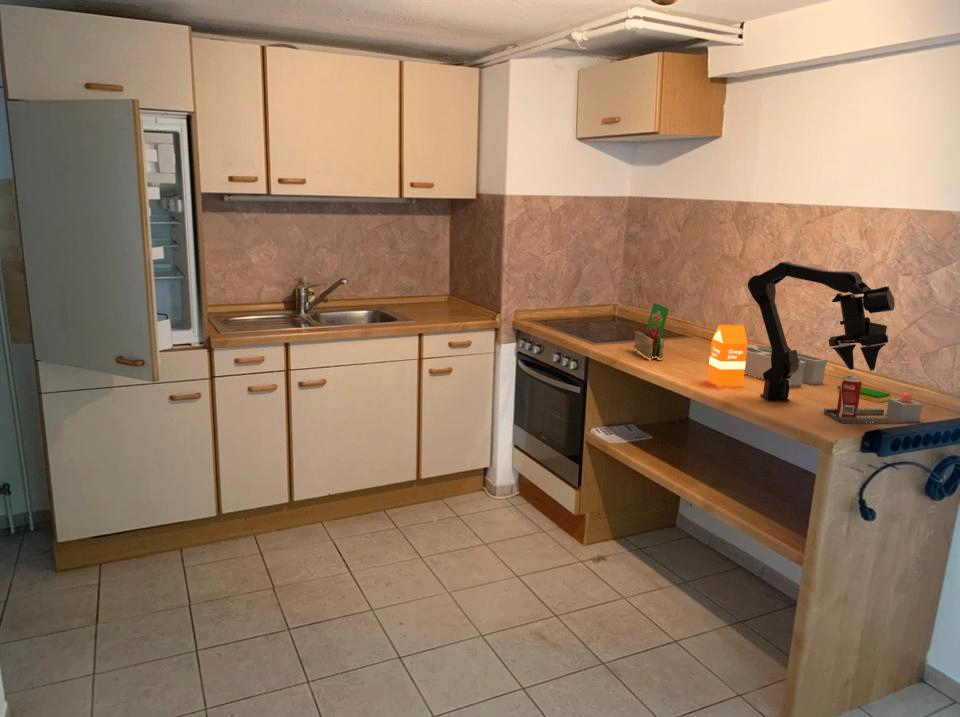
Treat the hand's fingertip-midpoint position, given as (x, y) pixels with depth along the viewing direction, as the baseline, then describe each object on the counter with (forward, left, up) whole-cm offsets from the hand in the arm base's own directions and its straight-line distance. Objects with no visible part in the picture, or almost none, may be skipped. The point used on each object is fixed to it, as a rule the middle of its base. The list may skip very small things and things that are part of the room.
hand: (861, 369), depth 211 cm
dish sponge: (+17, +22, -14) cm, 31 cm away
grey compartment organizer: (0, +47, -14) cm, 49 cm away
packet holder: (-35, +78, -14) cm, 87 cm away
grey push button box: (+14, -2, -14) cm, 19 cm away
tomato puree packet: (-35, +78, -14) cm, 87 cm away
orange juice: (-23, +36, -14) cm, 45 cm away
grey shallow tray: (+1, -2, -14) cm, 14 cm away
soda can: (-4, -2, -14) cm, 15 cm away
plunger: (+14, -2, -12) cm, 18 cm away
